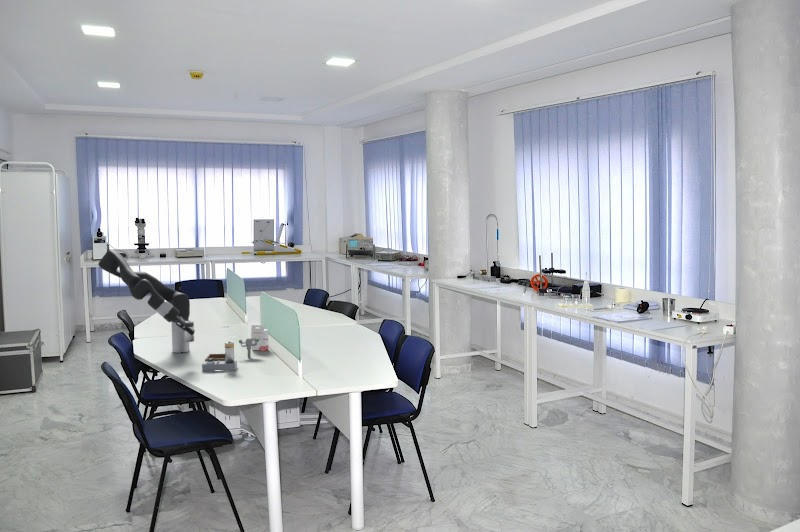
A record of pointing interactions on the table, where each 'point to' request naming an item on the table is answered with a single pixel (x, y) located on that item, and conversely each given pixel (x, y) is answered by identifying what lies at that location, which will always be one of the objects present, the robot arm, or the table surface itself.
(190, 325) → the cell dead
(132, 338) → the table surface
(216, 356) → the bin
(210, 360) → the plunger
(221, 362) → the tester
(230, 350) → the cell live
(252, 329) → the ink cartridge box
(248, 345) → the mechanical component
